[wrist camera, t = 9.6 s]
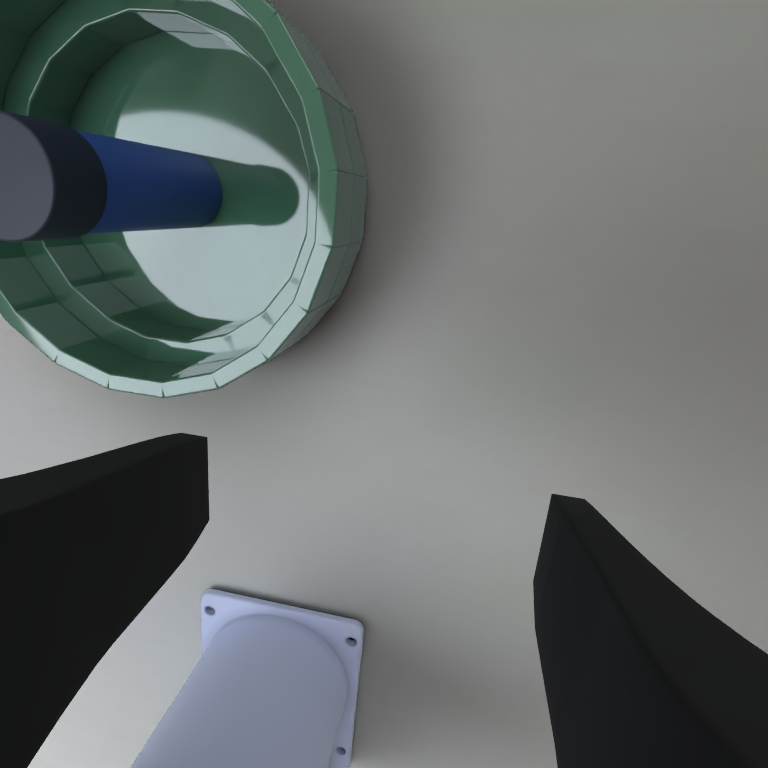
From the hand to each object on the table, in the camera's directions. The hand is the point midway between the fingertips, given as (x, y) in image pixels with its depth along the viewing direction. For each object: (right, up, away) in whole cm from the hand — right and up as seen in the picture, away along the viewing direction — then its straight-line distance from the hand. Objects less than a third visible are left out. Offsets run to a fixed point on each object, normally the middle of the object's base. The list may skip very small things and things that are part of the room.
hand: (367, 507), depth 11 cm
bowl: (-7, +10, +9) cm, 15 cm away
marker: (-7, +10, +9) cm, 15 cm away
